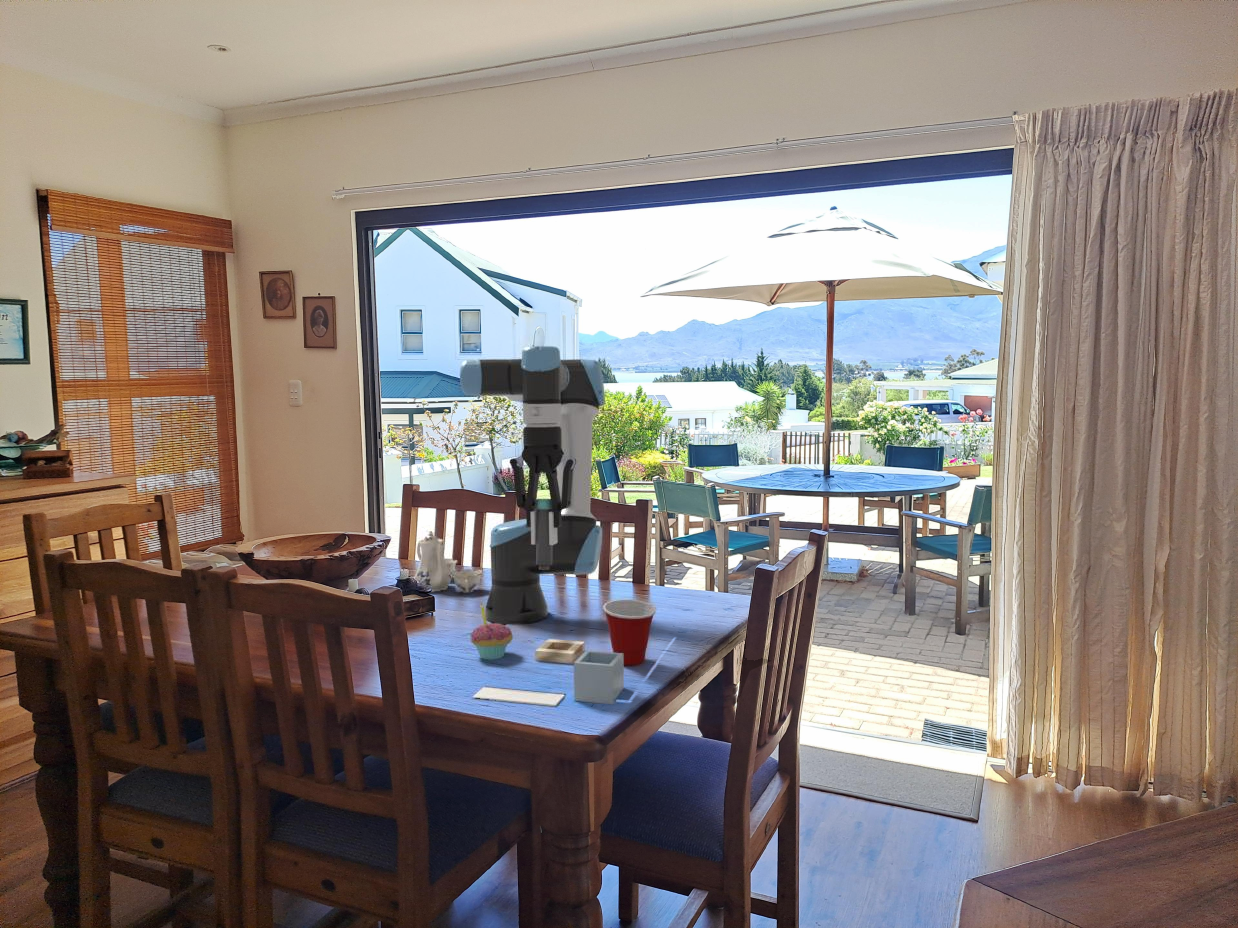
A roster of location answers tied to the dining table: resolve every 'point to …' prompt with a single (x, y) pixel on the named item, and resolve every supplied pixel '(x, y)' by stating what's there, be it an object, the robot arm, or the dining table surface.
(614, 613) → the plastic cup
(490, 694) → the paper
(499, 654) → the cupcake
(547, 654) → the marker stand
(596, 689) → the pen pot
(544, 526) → the marker
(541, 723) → the dining table surface
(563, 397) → the robot arm
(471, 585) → the chinaware
